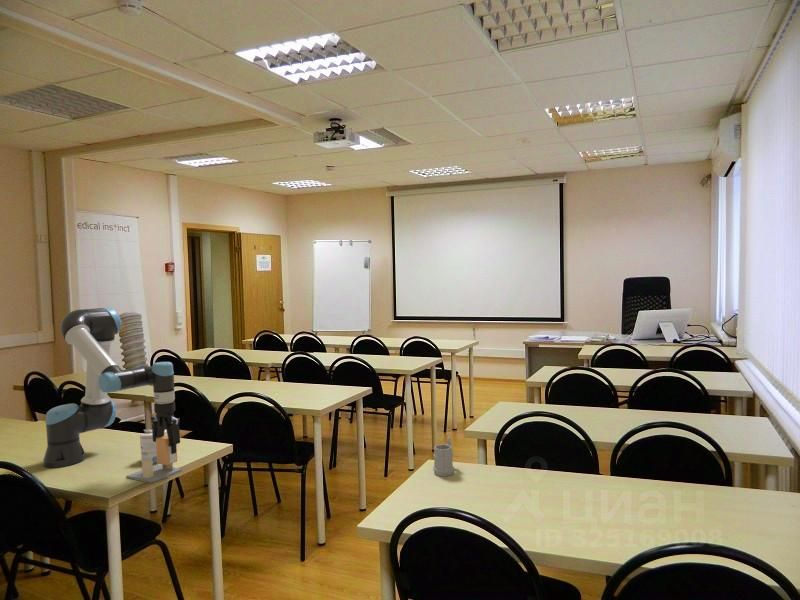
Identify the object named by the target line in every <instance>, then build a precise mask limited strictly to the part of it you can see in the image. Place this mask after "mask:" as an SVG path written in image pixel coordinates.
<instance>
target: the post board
mask: <svg viewBox="0 0 800 600" xmlns="http://www.w3.org/2000/svg"><path fill="white" fill-rule="evenodd" d="M141 467H142V470H138V471H136V472H133V473H130V474H128V475H126V476H125V477H126V479H131V480H136V481H141V482H145V483H151V484H153V483H155V482H159V481H160V480H162V479H165V478H167V477H170V476H172V475H175V474H177V473H180V472H182V471H183V468H178V467H174V466H173V469H171V470H168V471H166V470H163V467H162V465H161V464H155V465H154V463H153V460H146V461H143V462H142V461H141Z"/></svg>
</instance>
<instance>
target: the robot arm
mask: <svg viewBox="0 0 800 600" xmlns="http://www.w3.org/2000/svg"><path fill="white" fill-rule="evenodd" d="M120 331H122V320H121V317H120V315H119V313H118V312H117V311H116V310H115V309H113V308H110V307H99V308H98V307H97V308H96V307H95V308H85V309H75V310H71V311H70V312H68V313H67V314H66V315H65V316H64V317H63V319H62V321H61V323H60V334H61V337H62V338H63V339H64V341H65V342H66V343H67V344H68V345H72V346H73V347H74V348H75V349H76V351H77V352H78V353H79V354H80V355H81V357H82V358H83V359H84V360H85V361H86V371H85V372H86V374H85V377H86V378H85V393H84V396H83V397H82V398H81V399H80V405H78V404H76V403H67V404H62V405H58V406H55V407H52V408H51V409H49V410H48V411H47V412H46V416H45V427H46V428H45V429H46V430H45V431H46V441H47V442H46V443H47V444H46V446H47V447H46V451H45V454H44V457H43V461H42V464H43V467H45V468H63V467H68V466H73V465H76V464H79V463H81V462H84V461H85V459H86V453H85V450H84V447H83V445H82V444H81V443H82V442H81V441H80V434H82V433H87V432H92V431H95V430H102V429H103V428H106V427H109V426H111V425H112V424H113V423H114V422H115V419H116V417H117V408H116V404H115V402H114V401H113V400H112V399H111V397H110V396H109V395H108V393H114V392H118V391H119V392H120V391H123V390H130V389H134V388H139V387H145V386H152V389H153V402H154V404H153V407H154V409H153V411H154V413H155V414H156V415H154V416H150V420H151V425H152V426H151V427H152V428H151V429H152V434H153V442H156V437H157V438H159V437H162V436H164V432H165V430H167V435H168V439H169V443H170V445H168V450H169V463H171V462H174V461H176V444H177V445H179V444H180V443H181V434H180V422H181V419H180V417H178V418H177V417H175V414H174V412H175V411H176V402H175V399H176V397H175V396H176V394H175V375H174V374H175V371H174V364H173V363H172V362H171V361H159V362H158V361H157V362H155V363H153V364H152V366H150V365H138V366H136V367H134V368H128V369H126V368H125V369H122V368H121V367H120V366H119V365H118V364H117V362H116V361H115V360H114V359H113V357H111V356H110V352H111V343H112V342H114V341H115V337H116V336H115V335H117V334H119V333H120ZM174 463H175V462H174Z"/></svg>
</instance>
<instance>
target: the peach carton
mask: <svg viewBox="0 0 800 600" xmlns="http://www.w3.org/2000/svg"><path fill="white" fill-rule="evenodd" d="M168 445H170V443H169V439H168V435H165V436H162V437H159V438H156V452H157V463H156V465H169V464H172V463H173V464H174V463H177V462H178V453H177V452H178V446H177V445H178V444H176V461H174V462H171V463H169V450H168Z"/></svg>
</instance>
